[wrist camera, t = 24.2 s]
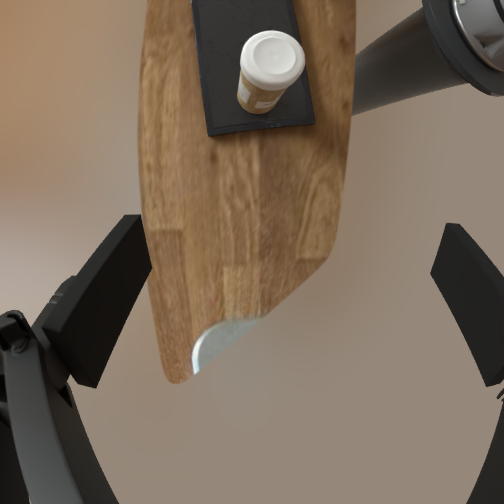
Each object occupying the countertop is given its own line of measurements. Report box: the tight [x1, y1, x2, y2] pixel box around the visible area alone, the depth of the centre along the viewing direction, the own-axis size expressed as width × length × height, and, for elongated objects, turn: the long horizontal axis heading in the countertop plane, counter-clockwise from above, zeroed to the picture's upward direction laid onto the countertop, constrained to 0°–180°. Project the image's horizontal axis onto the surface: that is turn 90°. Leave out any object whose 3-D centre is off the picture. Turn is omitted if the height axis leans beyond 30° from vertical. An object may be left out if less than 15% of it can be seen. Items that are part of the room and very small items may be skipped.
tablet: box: [191, 0, 315, 137], centre depth 30 cm, size 12×22×1 cm, turn 8°
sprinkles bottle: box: [237, 31, 305, 114], centre depth 25 cm, size 5×5×13 cm
